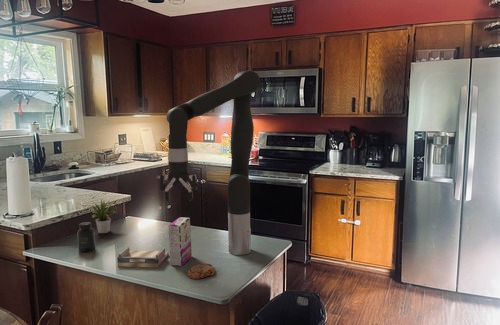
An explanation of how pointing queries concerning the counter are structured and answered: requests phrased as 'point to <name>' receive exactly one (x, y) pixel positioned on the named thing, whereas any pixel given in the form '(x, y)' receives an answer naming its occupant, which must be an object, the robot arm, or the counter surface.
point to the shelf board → (141, 258)
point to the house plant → (103, 217)
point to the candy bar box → (180, 241)
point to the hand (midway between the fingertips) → (179, 200)
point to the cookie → (201, 271)
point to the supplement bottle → (86, 237)
